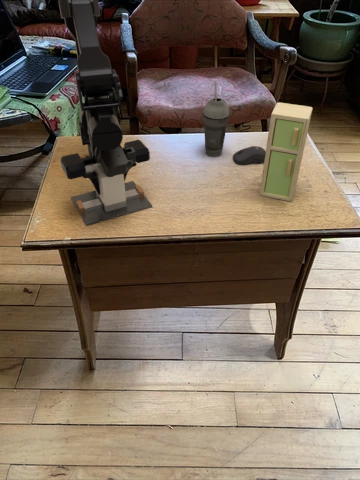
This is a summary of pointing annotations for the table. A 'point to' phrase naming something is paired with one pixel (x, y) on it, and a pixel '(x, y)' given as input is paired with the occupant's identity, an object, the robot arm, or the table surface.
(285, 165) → the toy refrigerator
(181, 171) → the table surface
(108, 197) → the rail module
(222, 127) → the beverage cup
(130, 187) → the rail
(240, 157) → the computer mouse
